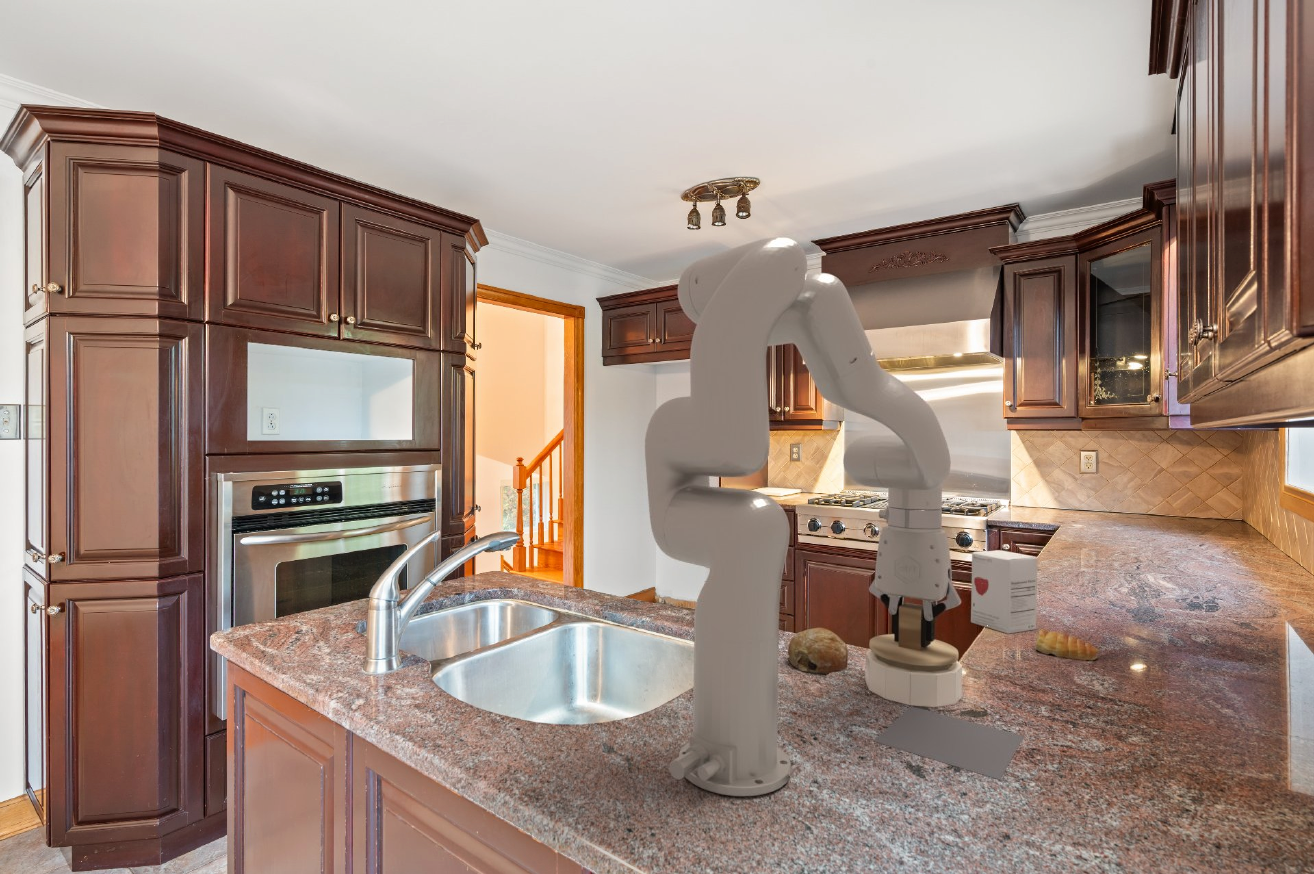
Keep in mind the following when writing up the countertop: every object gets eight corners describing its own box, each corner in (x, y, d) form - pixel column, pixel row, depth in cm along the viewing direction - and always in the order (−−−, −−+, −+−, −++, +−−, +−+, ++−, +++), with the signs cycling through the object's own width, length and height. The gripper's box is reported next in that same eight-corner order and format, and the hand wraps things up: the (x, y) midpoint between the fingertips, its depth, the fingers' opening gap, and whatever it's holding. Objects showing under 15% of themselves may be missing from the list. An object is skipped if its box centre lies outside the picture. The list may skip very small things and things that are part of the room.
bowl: (945, 718, 88) (946, 681, 88) (853, 693, 97) (853, 660, 97) (970, 691, 98) (970, 657, 99) (884, 670, 107) (884, 640, 107)
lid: (944, 672, 89) (945, 622, 89) (856, 652, 97) (857, 606, 97) (968, 650, 99) (968, 605, 99) (886, 634, 106) (886, 592, 106)
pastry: (1100, 656, 117) (1100, 635, 117) (1095, 666, 112) (1095, 643, 112) (1040, 645, 123) (1040, 625, 123) (1033, 654, 118) (1033, 633, 118)
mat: (999, 785, 71) (999, 779, 71) (873, 745, 80) (873, 740, 80) (1024, 740, 82) (1024, 736, 82) (910, 710, 91) (910, 706, 91)
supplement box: (969, 622, 137) (969, 551, 137) (998, 618, 141) (998, 549, 141) (1008, 634, 129) (1009, 558, 129) (1038, 629, 133) (1038, 556, 133)
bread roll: (783, 686, 109) (777, 649, 106) (798, 645, 117) (794, 609, 114) (843, 698, 104) (839, 659, 101) (855, 654, 113) (851, 617, 110)
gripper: (851, 517, 100) (850, 637, 100) (966, 527, 90) (965, 661, 89) (870, 513, 106) (868, 626, 106) (979, 522, 95) (978, 648, 95)
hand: (912, 641), depth 98 cm, fingers closed on lid, 3 cm apart
